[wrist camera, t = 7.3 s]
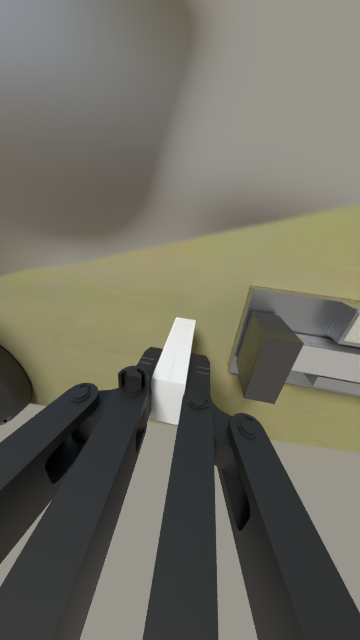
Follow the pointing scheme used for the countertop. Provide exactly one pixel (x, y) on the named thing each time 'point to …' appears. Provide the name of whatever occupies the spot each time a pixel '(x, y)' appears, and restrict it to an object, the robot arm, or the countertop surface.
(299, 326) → the gauge body
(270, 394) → the plunger
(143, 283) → the countertop surface
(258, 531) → the robot arm
